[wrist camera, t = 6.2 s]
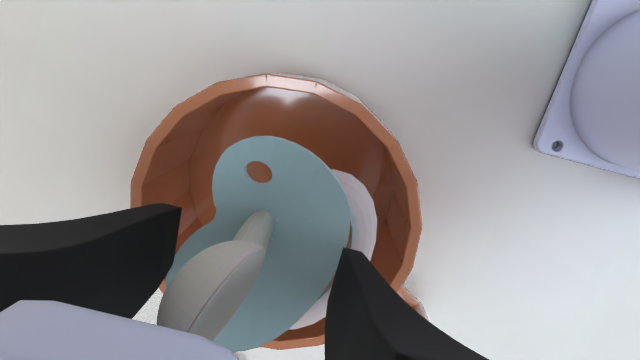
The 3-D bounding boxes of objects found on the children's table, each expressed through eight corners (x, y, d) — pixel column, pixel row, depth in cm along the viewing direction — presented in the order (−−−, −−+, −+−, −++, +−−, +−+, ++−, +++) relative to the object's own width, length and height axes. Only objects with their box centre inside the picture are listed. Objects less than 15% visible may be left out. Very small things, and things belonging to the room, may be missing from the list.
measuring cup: (142, 185, 20) (74, 225, 15) (285, 23, 18) (262, 2, 13) (344, 359, 23) (346, 446, 18) (495, 238, 20) (550, 296, 15)
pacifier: (410, 187, 13) (250, 104, 12) (483, 292, 7) (177, 141, 6) (312, 345, 15) (168, 281, 14) (303, 535, 9) (52, 440, 8)
